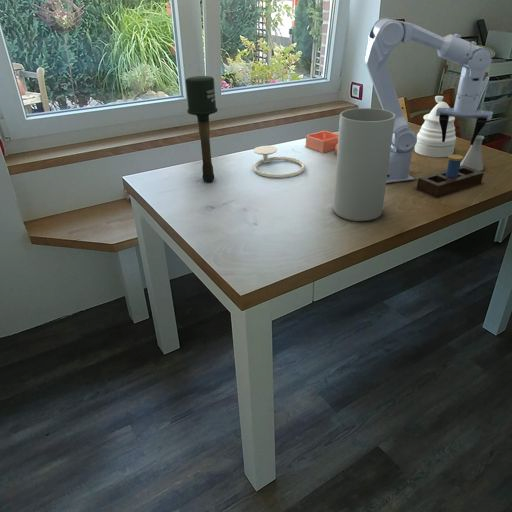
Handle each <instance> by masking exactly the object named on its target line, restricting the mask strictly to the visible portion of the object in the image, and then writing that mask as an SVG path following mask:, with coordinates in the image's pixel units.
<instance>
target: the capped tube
mask: <svg viewBox="0 0 512 512" xmlns="http://www.w3.org/2000/svg"><path fill="white" fill-rule="evenodd" d="M447 159H448V162H447V167H446V170H447V171H446V177H449V178H451V179H453V178H457V177H458V173H459V168H460V164H461V162H462V160H463V159H464V156H463V155H460V154H454V153H453V154H452V155H449V156H448V157H447Z"/></svg>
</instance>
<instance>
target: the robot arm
mask: <svg viewBox="0 0 512 512" xmlns="http://www.w3.org/2000/svg"><path fill="white" fill-rule="evenodd" d="M461 37H462V35H461V34H458V33H454V34H447V35H445V36H441V35H438V34H437V33H434V32H432V31H431V30H428V29H425V28H423V27H421V26H419V25H417V24H414V23H412V22H407V21H402V20H397V19H392V18H390V17H381V18H379V19H377V20H376V21H375V22H374V24H373V26H372V27H371V29H370V31H369V33H368V39H367V40H368V41H367V47H366V53H365V57H364V63H365V67H366V69H367V72H368V75H369V77H370V80H371V83H372V85H373V88H374V91H375V93H376V97H377V99H378V101H379V104H380V107H381V109H382V110H387V111H390V112H392V113H394V114H395V122H394V129H393V137H392V144H391V151H390V159H389V166H388V174H387V181H386V184H390V183H397V182H398V183H399V182H406V181H407V182H409V181H413V180H415V178H414V177H413V176H411V175H410V168H411V162H412V157H413V151H414V149H415V145H416V142H417V134H416V132H414V131H413V130H412V129H411V127H410V125H409V122H408V121H407V119H406V117H405V115H404V114H405V113H404V112H403V110H402V109H403V108H402V106H401V103H400V101H399V98H398V95H397V92H396V89H395V86H394V83H393V80H392V78H391V75H390V72H389V69H388V66H387V61H388V59H389V57H390V55H391V53H392V52H393V50H395V49H396V47H397V46H398V45H400V43H408V42H411V41H413V42H416V43H418V44H421V45H424V46H426V47H429V48H432V49H434V50H436V52H437V56H438V57H439V58H441V59H443V60H446V61H448V62H450V63H453V64H456V65H458V66H461V73H460V77H459V82H458V86H457V91H456V96H455V101H454V105H453V107H450V108H437V111H436V116H440V117H439V122H440V125H441V130H442V142H445V138H446V131H447V125H448V120H449V116H450V117H455V118H462V119H463V118H466V119H476V121H475V125H474V130H473V133H472V136H471V139H470V144H469V145H470V146H471V145H473V143H474V141H475V138H476V137H477V136H479V134H480V132H481V131H482V129H483V128H484V127H485V126H486V124H487V121H492V119H493V114H494V111H489V110H483V109H477V106H478V102H479V97H480V94H481V89H482V84H483V81H484V75H485V71H486V70H487V69H488V68H489V67H490V66H491V63H492V61H493V59H492V55H491V52H490V50H489V49H488V48H486V47H483V46H479V45H477V42H476V41H468V40H466V39H463V38H461Z"/></svg>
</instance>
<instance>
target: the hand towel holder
mask: <svg viewBox="0 0 512 512" xmlns="http://www.w3.org/2000/svg"><path fill="white" fill-rule="evenodd" d="M252 151H253V153H254V154H257V155H261V156H262V159H260V160H257V161H256V162H255V163H254V165H253V167H252V169H253V171H254V173H256V174H257V175H259V176H262V177H265V178H270V179H286V178H287V179H288V178H292V177H296V176H299V175H300V174H302V173H303V172H304V171H305V169H306V165H305V164H304V162H303V161H302V160H300V159H297V158H294V157H289V156H271V157H269V156H268V155H273V154H275V153H276V152H278V148H277V147H275V146H273V145H260V146H256V147H254V148H253V150H252ZM273 161H274V162H275V161H288V162H292V163H296V164H299V166H301V168H300V169H299V170H296V171H294V172H290V173H282V174H281V173H280V174H279V173H278V174H276V173H267V172H263V171H261V170H258V169H257V167H258V166H259V165H261V164H267V163H268V162H273Z"/></svg>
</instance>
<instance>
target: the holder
mask: <svg viewBox="0 0 512 512" xmlns="http://www.w3.org/2000/svg"><path fill="white" fill-rule="evenodd" d="M446 171H447V169H445V170H442V171H438V172H434V173H431V174H426V175H424V176H420V177H418V179H417V185H416V190H418V191H420V192H422V193H424V194H427V195H429V196H431V197H433V198H436V199H437V198H440V197H443V196H447V195H450V194H453V193H456V192H459V191H463V190H466V189H469V188H473V187H475V186H479V185H482V181H483V177H484V174H485V172H483V171H482V170H481V171H478V170H475V169H472V168H469V167H466V166H464V165H462V166H460V168H459V173H458V177H457V178H453V179H451V178H449V177H446Z"/></svg>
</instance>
